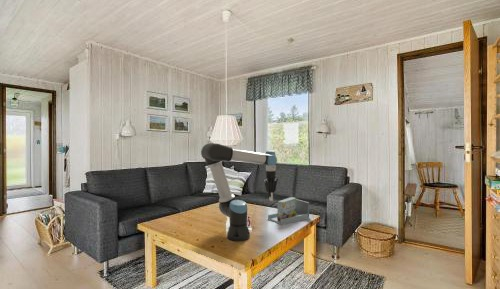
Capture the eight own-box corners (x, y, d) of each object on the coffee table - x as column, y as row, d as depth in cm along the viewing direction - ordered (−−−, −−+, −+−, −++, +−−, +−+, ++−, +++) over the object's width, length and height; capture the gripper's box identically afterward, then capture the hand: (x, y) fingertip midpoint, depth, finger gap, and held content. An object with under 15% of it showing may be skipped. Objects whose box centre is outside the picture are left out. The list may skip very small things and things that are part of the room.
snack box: (283, 221, 199) (283, 202, 199) (277, 220, 203) (277, 201, 203) (296, 215, 216) (296, 197, 215) (290, 214, 219) (290, 196, 219)
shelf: (281, 224, 195) (281, 207, 195) (267, 219, 209) (267, 203, 209) (309, 218, 212) (309, 202, 212) (294, 213, 226) (294, 198, 226)
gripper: (267, 171, 192) (267, 202, 193) (280, 170, 200) (280, 200, 200) (261, 170, 199) (261, 200, 199) (274, 169, 206) (274, 198, 206)
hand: (271, 200), depth 200 cm, fingers closed
